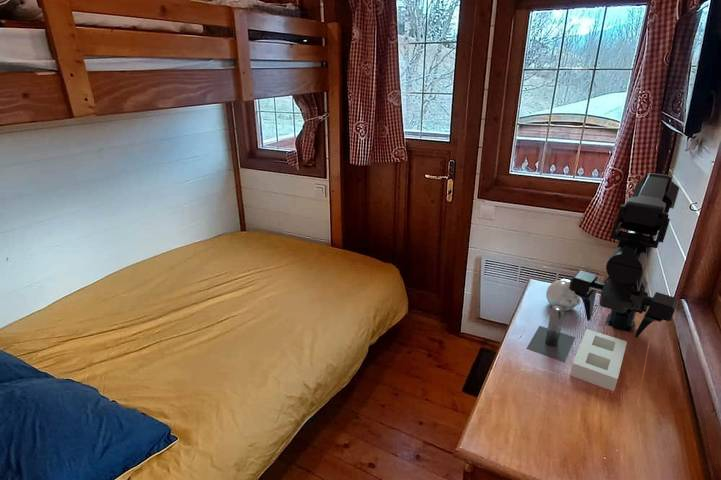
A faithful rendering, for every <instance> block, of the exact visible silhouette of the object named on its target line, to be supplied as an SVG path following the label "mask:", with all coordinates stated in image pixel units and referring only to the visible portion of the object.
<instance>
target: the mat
mask: <svg viewBox="0 0 721 480" xmlns="http://www.w3.org/2000/svg"><path fill="white" fill-rule="evenodd" d="M547 329H548V327H545V326H541V325H539V326H538V328H537V329H536V331H535V333H534V334H533V336H532V337H531V339H530V341H529V343H528V345H527V347H526V348H525V350H529V351H531V352H534V353H537V354H539V355H543V356H545V357H549V358H551V359H554V360H557V361H559V362H563V363H566V360H567V358H568V355H569V353H570V351H571V349H572V347H573V344H574V341H575V339H576V337H575V336H573V335H569V334H566V333H563V332H560V336H559V341H558V345H557V346H554V347H553V346H549V345H547V344H546V343H545V339H546V334H547Z"/></svg>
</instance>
